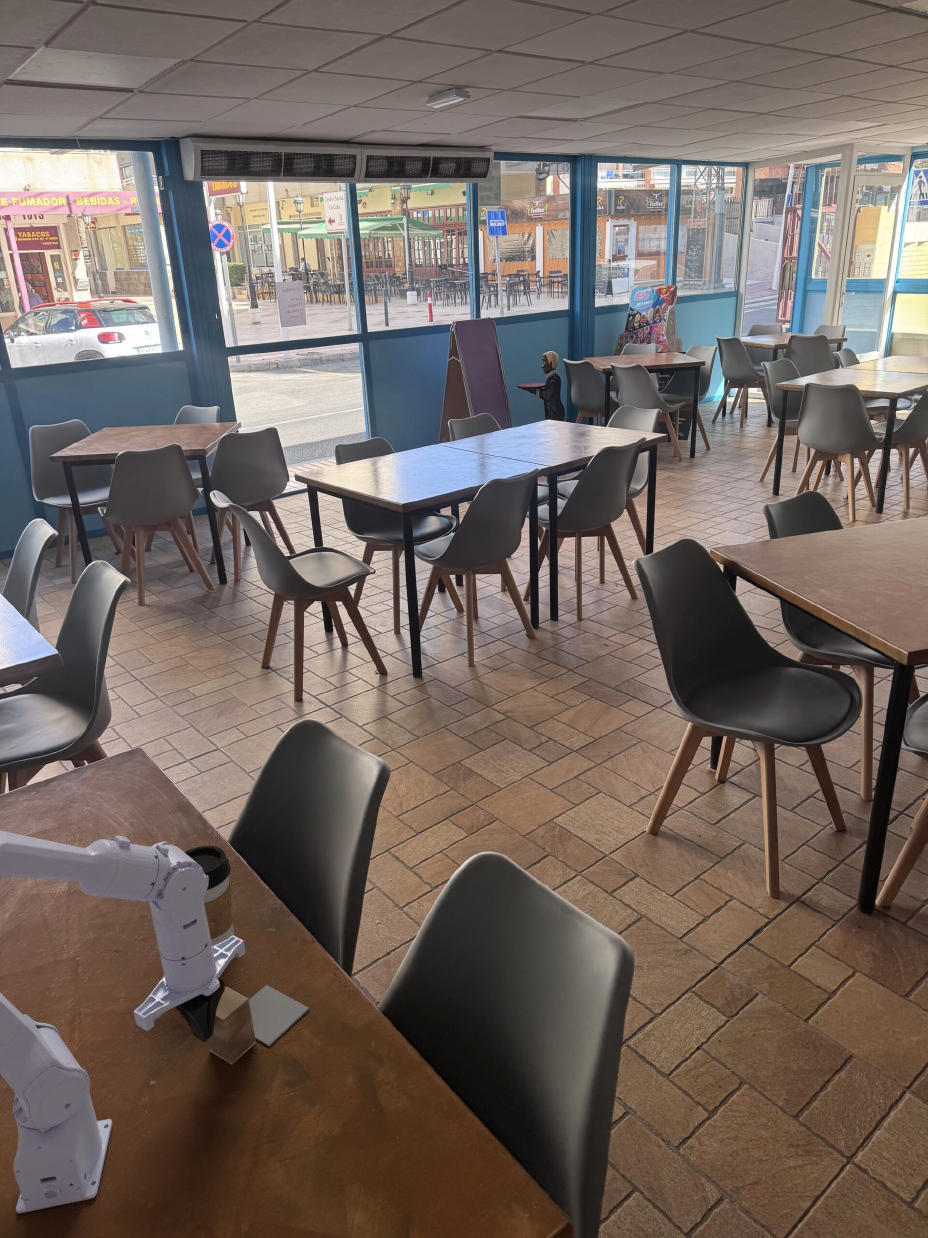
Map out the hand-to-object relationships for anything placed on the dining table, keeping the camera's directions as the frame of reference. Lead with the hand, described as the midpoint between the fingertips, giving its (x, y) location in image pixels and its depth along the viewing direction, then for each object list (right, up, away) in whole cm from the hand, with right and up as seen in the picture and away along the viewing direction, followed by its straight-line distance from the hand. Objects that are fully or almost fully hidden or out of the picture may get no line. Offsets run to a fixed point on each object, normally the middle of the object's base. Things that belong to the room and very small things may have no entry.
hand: (203, 1035), depth 106 cm
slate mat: (+6, -2, +9) cm, 11 cm away
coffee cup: (-5, +2, +23) cm, 23 cm away
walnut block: (+2, -4, +5) cm, 6 cm away
